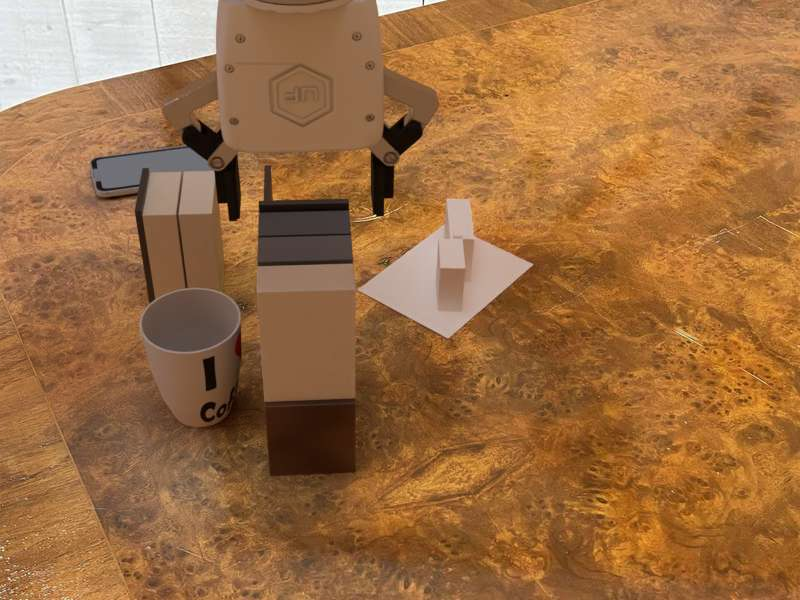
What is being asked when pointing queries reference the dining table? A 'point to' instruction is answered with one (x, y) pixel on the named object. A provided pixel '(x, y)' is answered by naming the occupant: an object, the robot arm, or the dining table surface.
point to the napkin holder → (447, 275)
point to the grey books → (304, 232)
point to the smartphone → (140, 168)
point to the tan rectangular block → (307, 331)
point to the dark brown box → (311, 436)
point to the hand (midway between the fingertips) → (306, 207)
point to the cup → (194, 352)
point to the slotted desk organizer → (182, 230)
